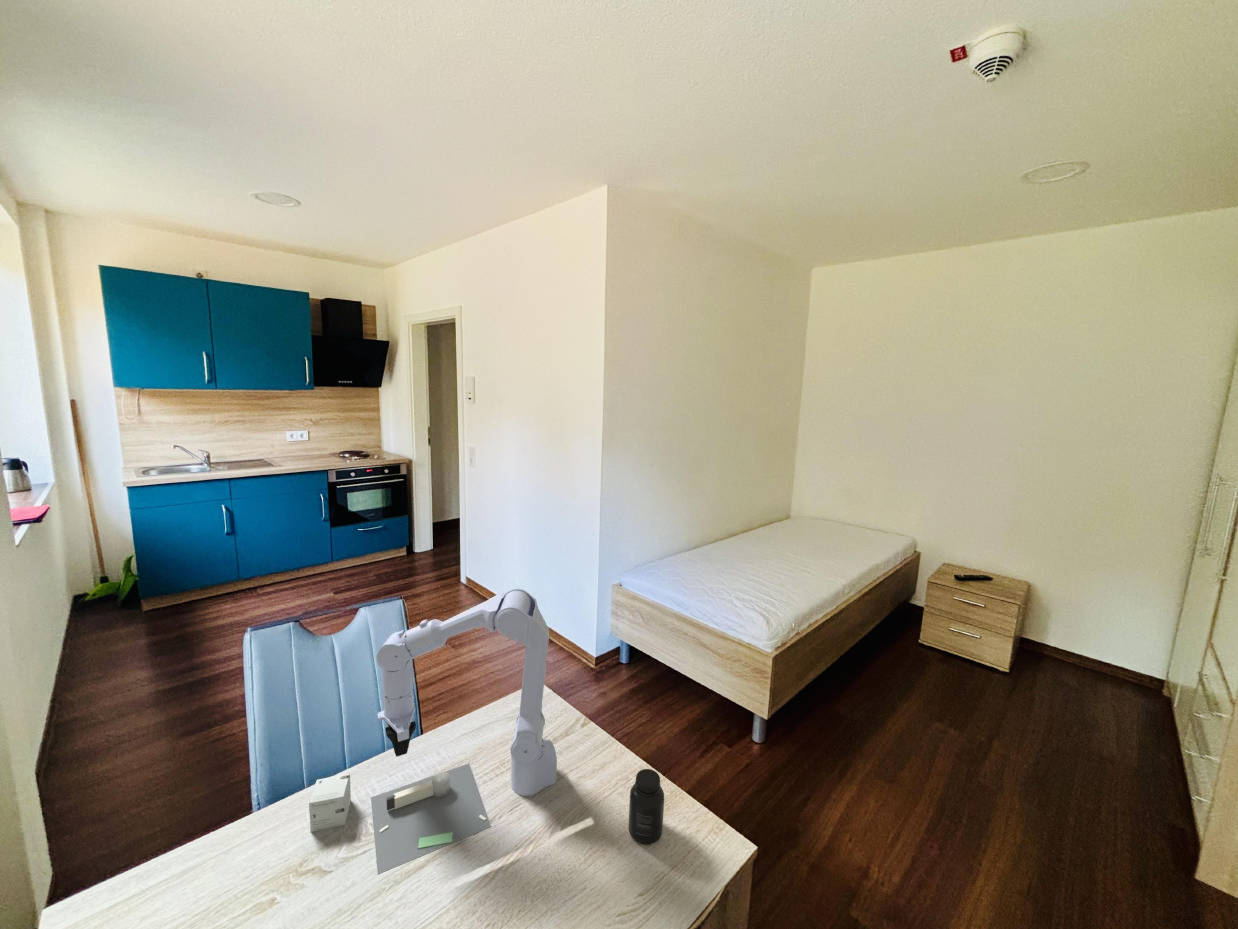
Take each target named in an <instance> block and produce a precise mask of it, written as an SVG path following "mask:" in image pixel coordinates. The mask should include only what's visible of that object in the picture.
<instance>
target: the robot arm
mask: <svg viewBox="0 0 1238 929" xmlns="http://www.w3.org/2000/svg"><path fill="white" fill-rule="evenodd" d="M504 593H505V594H504ZM480 627H483V628H485V629H486V630H488V631H489V632H490V633H495V631H497V632H498V633H499V635H502V636H504V637H505V638H508V639H510V640H513V641H515V642H517V643H519V644H521V645H524V646H525V652H524V662H523V674H522V685H521V696H520V704H519V713H518V715H517V717H516V722H515V724H516V725H515V729H514V733H513V739H512V743H511V745H510V760H511V761H510V787H511V789H512V791H513V792H514V793H515V794H517V795H519V796H522V797H524V796H525V797H527V796H534V795H536V794H537V793H539V792H540V791H541V790H543V789H544V788H546V787H549V786H551V785H554V784H556V783H557V771H558V770H557V768H558V767H557V766H558V761H557V760H558V758H557V752H556V749H555V746H554V743H553V741H552V740H551V739H544V738H543V735H544V729H545V728H544V727H545V725H546V718H545V715H544V713H543V698H544V690H545V689H544V688H545V680H546V679H545V678H546V669H547V658H548V652H549V651H548V649H549V648H548V647H549V639H550V629H549V626H548V624H547V623H546V621H545V619H544V617H543V614H542V612H541V611H540V609H539V606H538V602H537V599H536V598H535V597H534V596H532V594H531V593H529V592H527V590H524V589H523V588H518V587H517V588H512V589H510V590H508V591H506V592H500V593H497V594H496V595H494V596H493V597H491V598H489V599H487V600H485V601H483V602H481V603H479V604H478V605H475V606H473V607H471V608H469V609H466V610H465V611H463V612H460V613H458V614H457V615H454V616H452V617H450V618H448V619H446V620H444V621H442V620H440V619H437V618H435V619H431V620H428V618H427V619H424V620H422V621H421V622H420V623H419V625H417V626H415V627H411V628H410V629H407V630H405V629H402V630H400V631H396V632H392V633H391V634H390V635H389V636H388V638H387V639H386V640H385V641H384V643H383V644H382V646H381V647H380V649H378V651H377V654H376V662H377V664H378V666H379V667H380V669H382V670H381V676H382V695H383V697H382V699H383V702H382V703H383V710H382V711H379V712H377V720H378V721H380V722H381V721H385V723H386V724H387V726H386V727H384V728H385V735H386V737H387V739H388V740H390V742H391V744H392V748H393V752H394V754H395V756H396V757H400V756H403V755H407V753H408V752H409V748H410V742H411V738H412V735H413V734H414V732H415V731H416V727H417V724H416V723H417V722H416V720H413V717H414V714H415V711H416V706H415V703H414V701H415V698H414V694H415V693H414V674H413V673H414V670H413V668H414V667H413V659H416V658H418V657H420V656H423V655H426V654H427V653H430V652H432V651H435V650H438V649H440V648H443V647H444V646H445V645H446V644H447V643H446V642H447V641H448V638H451V637H454V636H457V635H459V634H460V635H461V634H462V633H466V632H469V631H470V630H474V629H477V628H480ZM412 720H413V721H412Z"/></svg>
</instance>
